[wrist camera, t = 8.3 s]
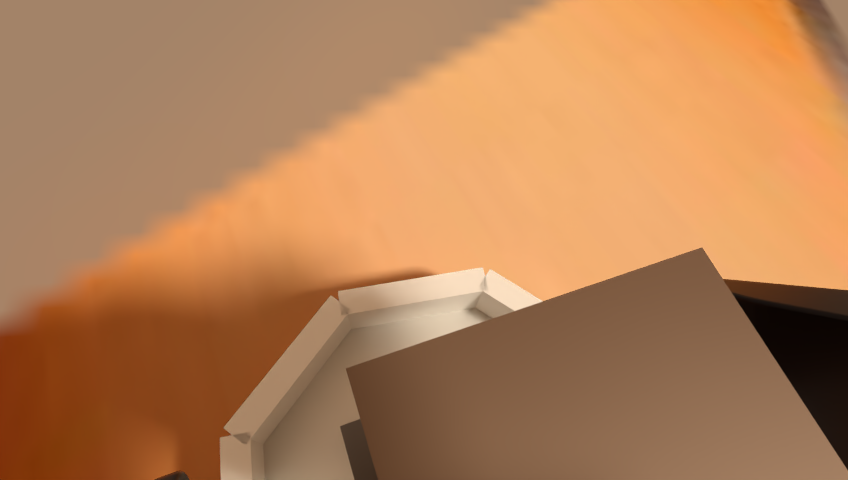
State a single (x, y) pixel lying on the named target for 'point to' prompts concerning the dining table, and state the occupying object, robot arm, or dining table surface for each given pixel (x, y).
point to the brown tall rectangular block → (592, 392)
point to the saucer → (327, 377)
